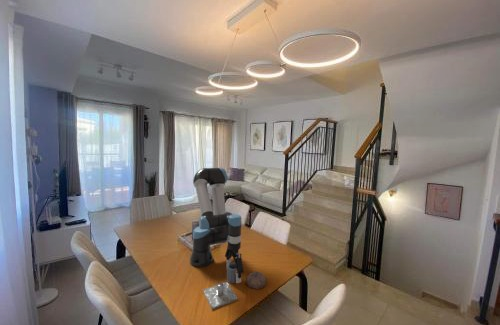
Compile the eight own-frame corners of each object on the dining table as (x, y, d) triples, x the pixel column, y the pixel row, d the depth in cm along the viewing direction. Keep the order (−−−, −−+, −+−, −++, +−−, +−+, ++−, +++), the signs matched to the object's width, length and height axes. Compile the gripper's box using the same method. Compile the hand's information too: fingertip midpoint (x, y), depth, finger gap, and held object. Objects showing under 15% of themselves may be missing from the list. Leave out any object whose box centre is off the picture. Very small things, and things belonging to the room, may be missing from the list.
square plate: (203, 291, 112) (203, 281, 111) (226, 283, 119) (227, 273, 118) (212, 309, 100) (212, 298, 99) (237, 299, 107) (238, 288, 106)
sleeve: (224, 277, 124) (225, 264, 124) (235, 273, 128) (236, 261, 127) (230, 285, 117) (230, 271, 117) (242, 281, 121) (242, 268, 120)
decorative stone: (243, 286, 117) (243, 277, 116) (249, 274, 128) (250, 266, 128) (263, 292, 113) (263, 282, 113) (268, 278, 125) (268, 270, 124)
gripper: (220, 234, 130) (219, 266, 131) (238, 252, 108) (237, 290, 110) (231, 232, 133) (230, 263, 135) (250, 249, 112) (249, 286, 114)
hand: (233, 275), depth 123 cm, fingers open, 13 cm apart
